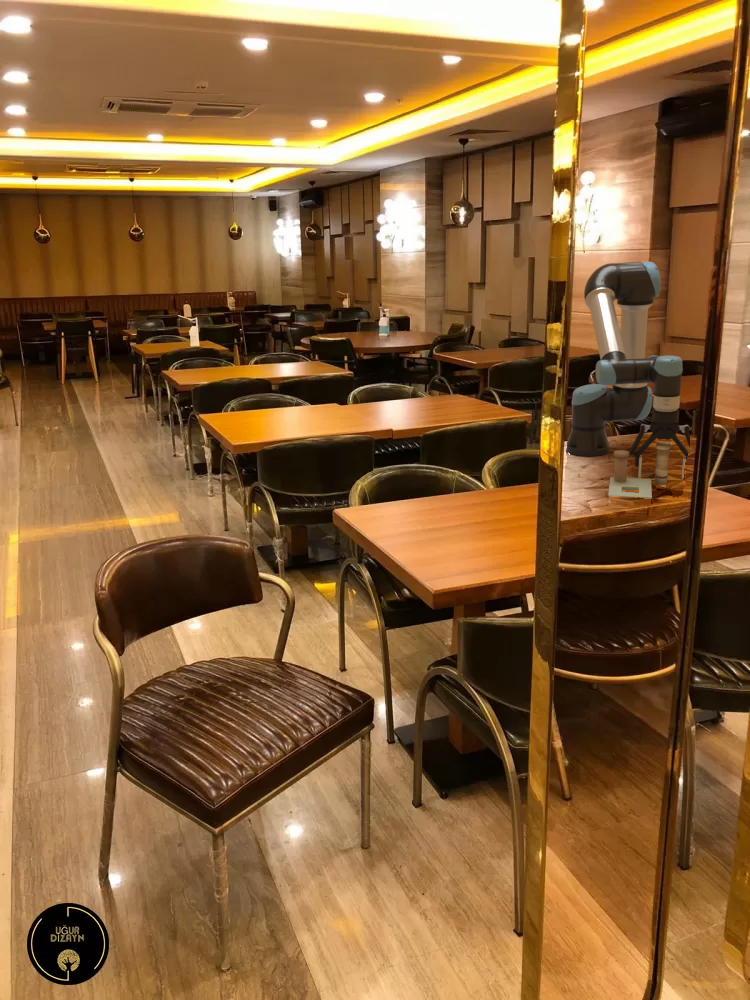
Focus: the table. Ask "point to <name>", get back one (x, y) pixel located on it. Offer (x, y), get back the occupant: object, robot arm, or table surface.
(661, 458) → the peg
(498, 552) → the table surface
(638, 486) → the board
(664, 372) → the robot arm
